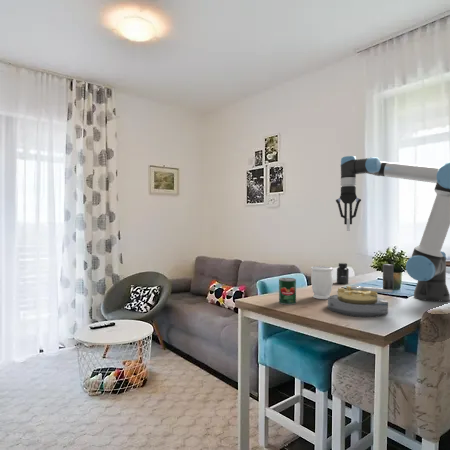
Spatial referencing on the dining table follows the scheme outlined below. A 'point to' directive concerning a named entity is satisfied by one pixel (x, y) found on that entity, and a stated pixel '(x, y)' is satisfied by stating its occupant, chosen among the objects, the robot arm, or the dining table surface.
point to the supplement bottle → (342, 274)
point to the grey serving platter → (358, 308)
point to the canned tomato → (287, 291)
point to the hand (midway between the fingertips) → (348, 230)
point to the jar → (321, 281)
